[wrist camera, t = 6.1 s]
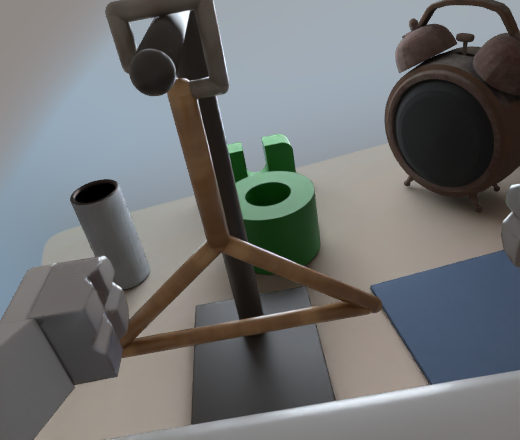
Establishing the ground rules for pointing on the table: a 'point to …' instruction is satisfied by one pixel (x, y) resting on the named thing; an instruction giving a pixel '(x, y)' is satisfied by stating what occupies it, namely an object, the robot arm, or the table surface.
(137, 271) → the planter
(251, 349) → the rail
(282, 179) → the green bracket
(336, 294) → the hanger
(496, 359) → the mat
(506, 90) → the alarm clock
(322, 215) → the table surface
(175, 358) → the table surface
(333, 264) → the table surface
